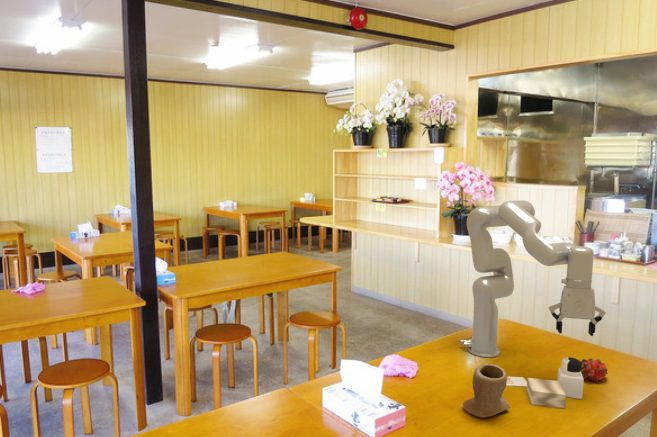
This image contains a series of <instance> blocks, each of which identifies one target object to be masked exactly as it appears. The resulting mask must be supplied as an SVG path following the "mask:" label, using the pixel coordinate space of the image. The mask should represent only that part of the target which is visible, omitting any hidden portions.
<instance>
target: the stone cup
mask: <svg viewBox="0 0 657 437" xmlns="http://www.w3.org/2000/svg"><path fill="white" fill-rule="evenodd" d="M507 377H508V376H507V373H506V371H505V370H504V368H502V367H501V366H499V365H497V364H494V363H483V364H480V365H479V366H477V367H476V368H475V370H474V371H473V376H472V390H473V395H474V397H472V398H468V399H467V400H465V401H463V402H462V408H464V410H465V411H467V412H468V413H470V414H472V415H473V416H476V417H477V418H478V417H479V418H488V417H492V416H495V415H498V414H499V413H502V412H505V411H506V410H508V409H510V408H511V405H510V404H509V403H508V401H507V400H506V398H504V396H503V394H504V391H505V389H506V387H507V386H506V383H507Z"/></svg>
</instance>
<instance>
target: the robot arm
mask: <svg viewBox="0 0 657 437" xmlns="http://www.w3.org/2000/svg"><path fill="white" fill-rule="evenodd" d="M535 213H536V210H535V207H534V205H533V204H532V203H531V202H529V201H527V200H521V199H520V200H508V201H504V202H503V203H501V204H500V205H483V206H479V207H478V206H477V207H476V208H473V209H471V211H470V212H469V213H468V215H467V218H466V229H467V232H468V235H469V236H468V237H469V239H470V240H469V241H470V248H471V255H472V262H473V267H474V270H475V271H476V272H478V273H480V274H481V273H483V274H486V273H487V274H488V273H493V275H491V274H490V275H486V276H480V277H478V278H477V279H475V280H474V281H473V283H472V286H471V289H472V295H473V317H472V318H473V319H472V337H470V338H469V339H462V338H461V339H460V345H463V346H464V347H467V351H468V352H469V353H470V354H471V355H475V356H478V357H483V358H494V357H498V356H499V355H500V352H501V350H500V349H499V348H498V347H497V338H498V320H499V308H498V306H497V304H496V300H497V299H504V298H508V297H510V296H511V295H512V294H513V292H514V289H515V281H514V273H513V267H512V266H513V265H512V260H511V257H510V254H509V252H507V251H506V250H505V249H503V248H501V247H499V248H498V247H494V244H493V237H492V235H491V234H490V232H489V231H488V230H487V228H496V227H507V226H508V227H510V228H511V230H513V231H514V232H515V233H516V234H517V235H519V236H520V237H521V238H522V243H523V244H522V245H523V246H524V249H525V250H526V252H527V253H528V254H529V256H531V257H532V258H533V259H535V261H537V262H538V263H540V264H542V265H543V266H547V267H552V266H560V265H561V266H562V265H563V266H564V265H567V266H566V277H565V278H564V279H561V284H564V286H563V288H562V291H561V296H560V301H559V302H558V303H556V304H554V305H550V306H548V310H549V313H550V314H551V316H552V317H553V318H554V319H555V321H556V322H555V330H556V331H557V332H558V334H562V333H563V320H564V319H565V318H567V319H577V320H589V322H588V329H587V330H588V332H587V333H588V335H589V336H591V337H594V334H596V333H595V332H596V325H597V324H598V323H599V322H601V321H602V320H603V318H604V316H605V315H606V311H605V310H603V309H602V308H600V307H598V306H596V298H595V297H596V296H595V289H594V288H592V279H593V266H594V256H595V255H594V254H595V253H594V250H593V249H592V247H588V246H582V245H581V246H580V245H576V244H574V243H570V242H563V241H562V242H554V243H547V242H546V241H545V240H544V239H542V237H540V235H538V234H539V232H540V231H541V228H542V223H541V221H540V220H539V219H538V218H537V217H535V216H536V214H535ZM558 309H559V313H558V314H557V313H556V312H555V311H556V310H558ZM596 312H598V314H597V315H596Z"/></svg>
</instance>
